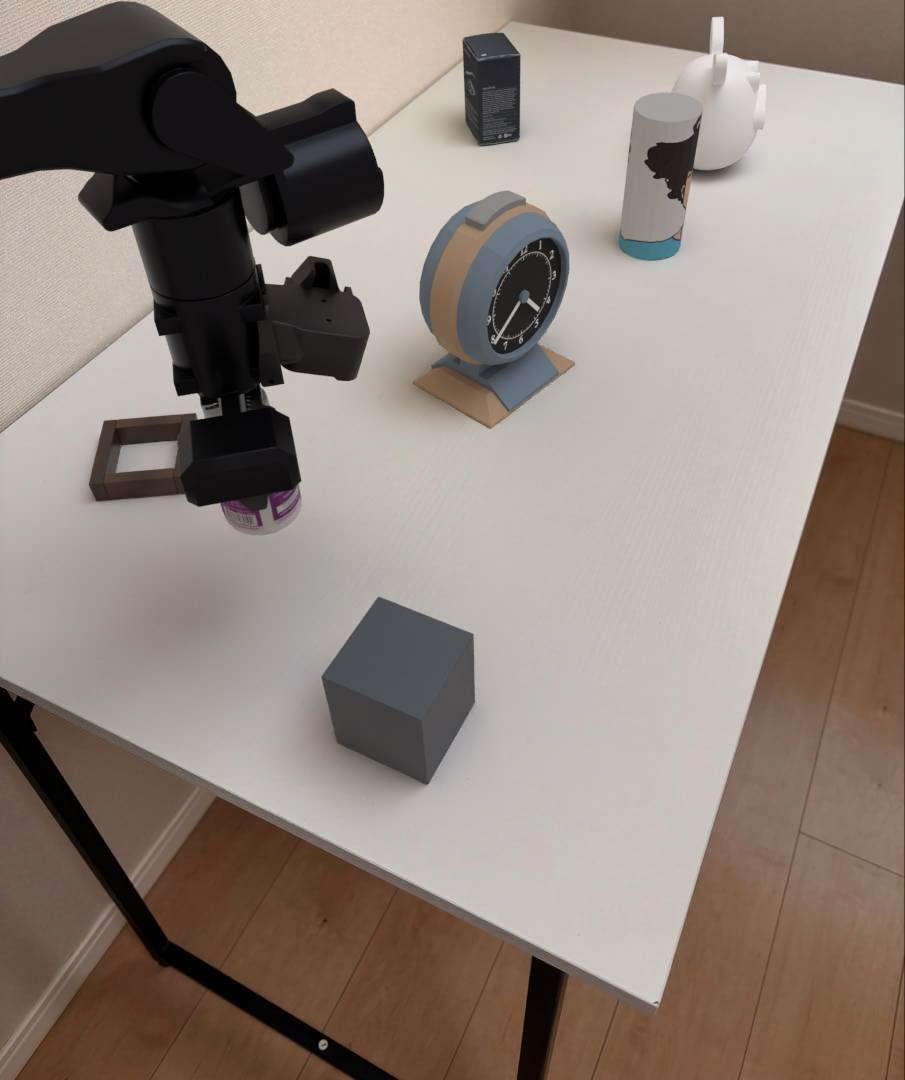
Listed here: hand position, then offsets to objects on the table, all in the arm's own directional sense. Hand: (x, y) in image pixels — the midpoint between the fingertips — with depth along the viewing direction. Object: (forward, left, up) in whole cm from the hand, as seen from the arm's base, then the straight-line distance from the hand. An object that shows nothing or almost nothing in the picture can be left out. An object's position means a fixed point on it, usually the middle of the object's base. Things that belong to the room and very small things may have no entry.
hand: (255, 479), depth 62 cm
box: (-1, +80, -13) cm, 81 cm away
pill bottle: (0, 0, -3) cm, 3 cm away
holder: (-17, +12, -13) cm, 24 cm away
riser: (+12, -8, -13) cm, 19 cm away
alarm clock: (+10, +30, -13) cm, 34 cm away
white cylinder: (+22, +56, -13) cm, 62 cm away
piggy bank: (+27, +76, -13) cm, 82 cm away
